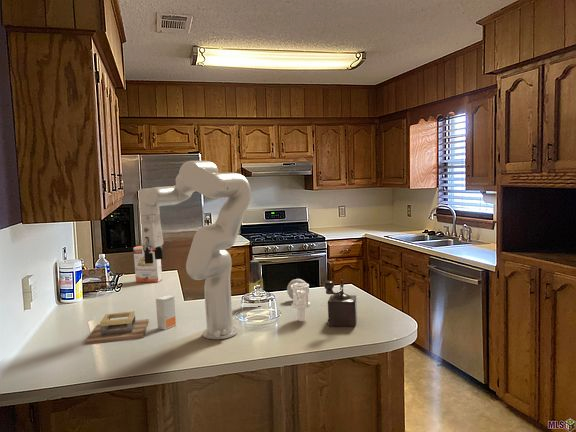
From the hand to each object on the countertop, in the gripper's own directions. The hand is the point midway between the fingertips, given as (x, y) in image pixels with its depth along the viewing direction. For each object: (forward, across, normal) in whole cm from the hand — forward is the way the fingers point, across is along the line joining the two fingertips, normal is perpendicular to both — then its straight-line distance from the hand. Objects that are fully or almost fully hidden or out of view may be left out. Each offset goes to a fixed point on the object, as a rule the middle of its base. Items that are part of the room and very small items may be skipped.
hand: (154, 261), depth 189 cm
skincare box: (+26, -6, -6) cm, 27 cm away
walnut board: (+25, -12, +12) cm, 30 cm away
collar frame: (+24, -12, +12) cm, 29 cm away
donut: (+26, +30, -54) cm, 67 cm away
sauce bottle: (+26, +24, -36) cm, 50 cm away
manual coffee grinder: (+27, -6, -74) cm, 79 cm away
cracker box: (+24, +78, +39) cm, 91 cm away
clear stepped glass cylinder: (+26, +1, -58) cm, 64 cm away
